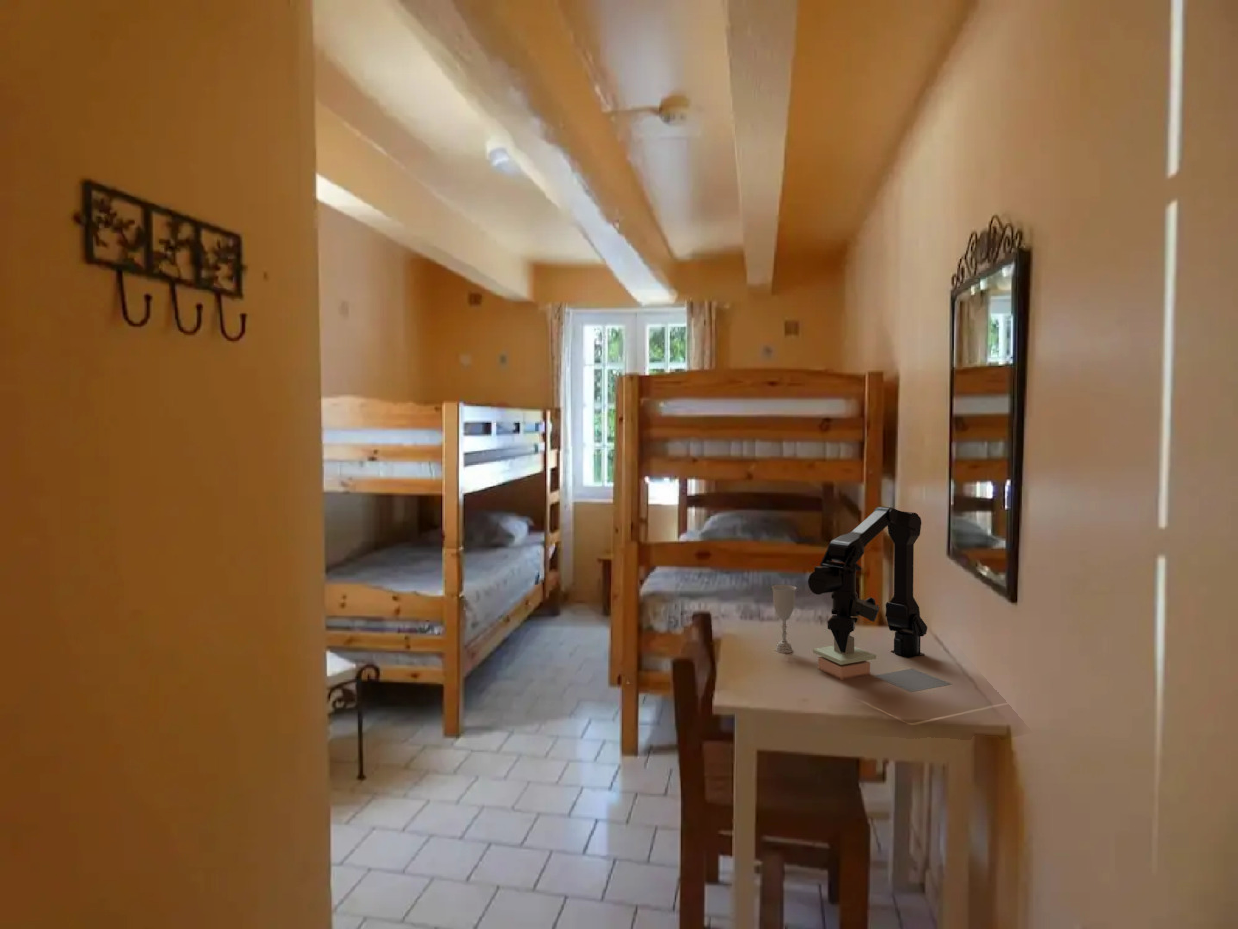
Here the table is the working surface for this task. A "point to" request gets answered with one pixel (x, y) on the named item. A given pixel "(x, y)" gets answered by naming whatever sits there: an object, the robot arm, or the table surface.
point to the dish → (844, 668)
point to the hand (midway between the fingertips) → (844, 649)
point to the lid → (848, 657)
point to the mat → (912, 680)
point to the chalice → (784, 611)
